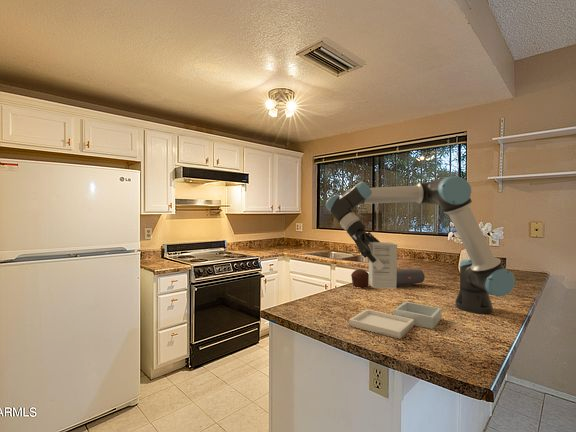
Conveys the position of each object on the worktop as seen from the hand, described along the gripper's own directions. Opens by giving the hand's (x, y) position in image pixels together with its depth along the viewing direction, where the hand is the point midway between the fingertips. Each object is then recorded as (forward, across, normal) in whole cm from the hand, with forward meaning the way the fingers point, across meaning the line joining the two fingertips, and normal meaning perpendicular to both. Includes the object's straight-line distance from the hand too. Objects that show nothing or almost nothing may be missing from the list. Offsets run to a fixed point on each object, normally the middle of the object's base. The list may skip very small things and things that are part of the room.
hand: (388, 266), depth 119 cm
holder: (+22, -17, -12) cm, 30 cm away
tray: (+15, 0, -18) cm, 24 cm away
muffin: (-9, -55, -43) cm, 71 cm away
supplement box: (+4, 0, -7) cm, 8 cm away
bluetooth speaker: (+5, -75, -29) cm, 81 cm away
